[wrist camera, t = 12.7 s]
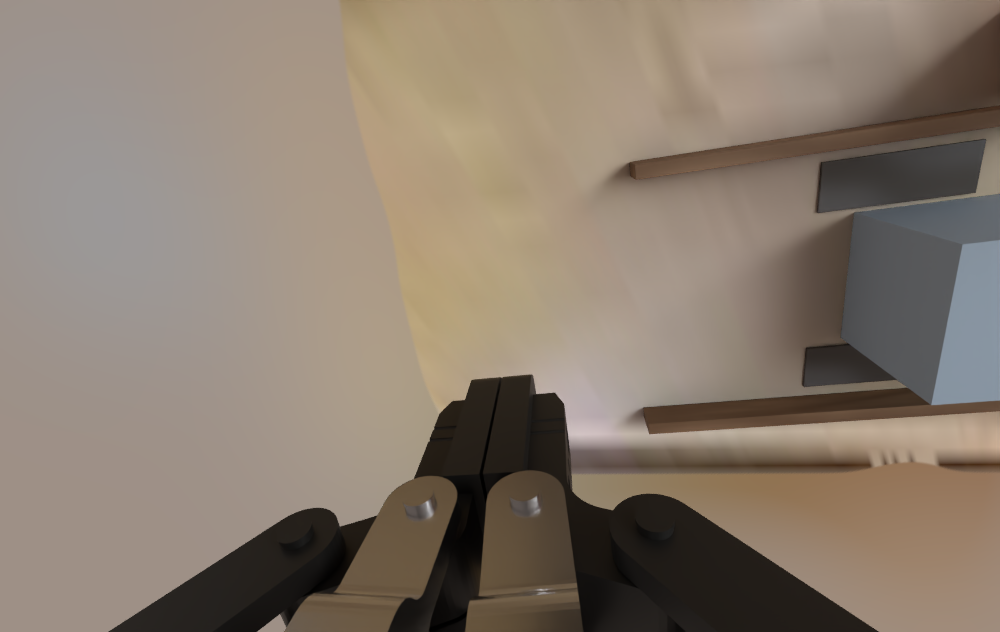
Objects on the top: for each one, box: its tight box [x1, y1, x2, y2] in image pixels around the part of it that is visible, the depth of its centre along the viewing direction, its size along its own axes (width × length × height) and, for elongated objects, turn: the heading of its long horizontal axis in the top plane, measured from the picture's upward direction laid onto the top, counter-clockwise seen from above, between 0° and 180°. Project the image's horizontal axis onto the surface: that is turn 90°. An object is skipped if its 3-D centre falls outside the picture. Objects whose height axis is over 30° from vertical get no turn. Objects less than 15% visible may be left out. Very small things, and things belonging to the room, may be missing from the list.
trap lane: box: [630, 105, 1000, 434], centre depth 34 cm, size 22×34×5 cm, turn 99°
